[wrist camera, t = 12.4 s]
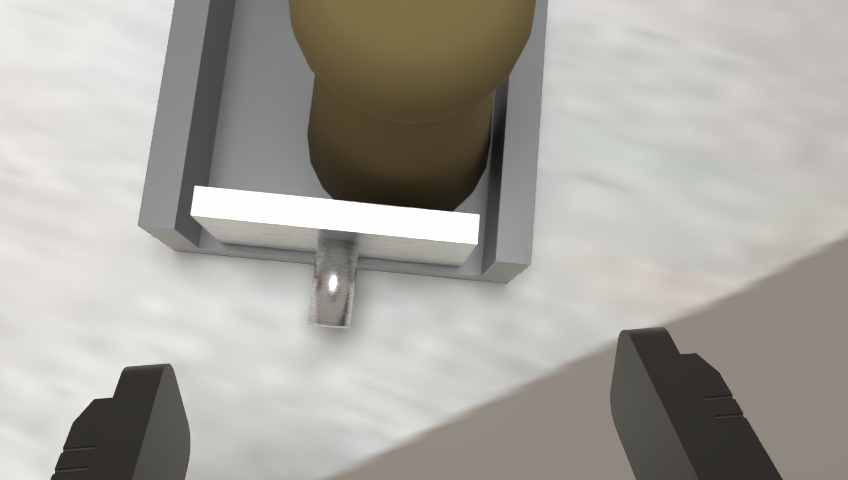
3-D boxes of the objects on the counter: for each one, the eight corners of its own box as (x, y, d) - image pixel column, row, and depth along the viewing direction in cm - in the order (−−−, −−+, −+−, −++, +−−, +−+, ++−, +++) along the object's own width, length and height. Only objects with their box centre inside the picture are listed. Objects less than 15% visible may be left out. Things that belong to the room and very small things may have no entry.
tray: (536, -140, 29) (562, -223, 25) (507, 283, 26) (530, 264, 22) (241, -177, 28) (219, -267, 24) (174, 250, 25) (137, 225, 21)
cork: (285, 77, 25) (219, -149, 15) (459, 33, 26) (517, -216, 15) (335, 250, 25) (304, 143, 14) (514, 198, 25) (617, 58, 14)
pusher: (463, 242, 25) (479, 215, 21) (454, 342, 24) (469, 333, 20) (224, 218, 24) (195, 185, 20) (209, 319, 24) (176, 305, 20)
